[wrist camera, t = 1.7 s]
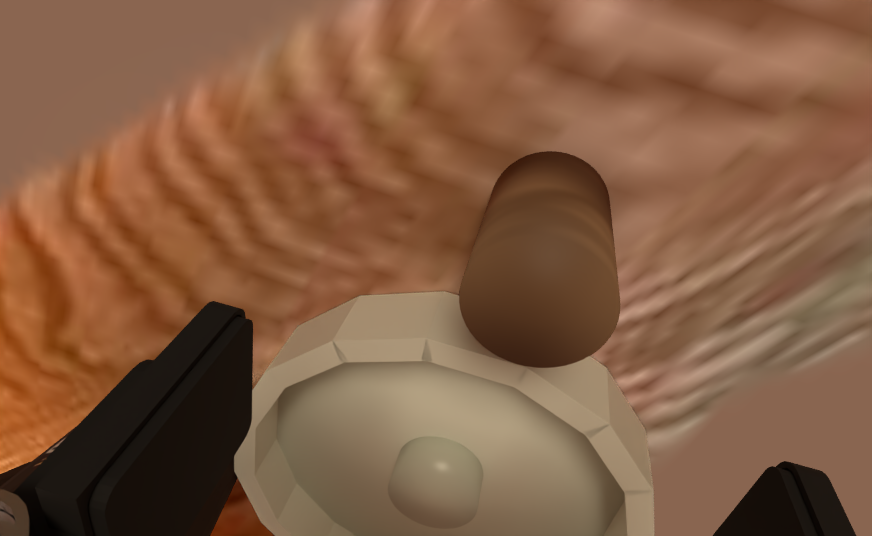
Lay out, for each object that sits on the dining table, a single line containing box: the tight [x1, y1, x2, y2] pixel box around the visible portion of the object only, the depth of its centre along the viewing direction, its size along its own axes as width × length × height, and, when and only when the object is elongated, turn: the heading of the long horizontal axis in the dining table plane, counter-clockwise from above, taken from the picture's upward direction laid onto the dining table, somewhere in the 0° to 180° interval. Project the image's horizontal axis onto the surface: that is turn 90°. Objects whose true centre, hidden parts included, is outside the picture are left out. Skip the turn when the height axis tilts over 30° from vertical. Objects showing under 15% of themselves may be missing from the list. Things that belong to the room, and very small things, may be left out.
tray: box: [234, 291, 654, 536], centre depth 25 cm, size 18×18×3 cm
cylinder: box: [459, 151, 620, 368], centre depth 17 cm, size 4×4×6 cm
